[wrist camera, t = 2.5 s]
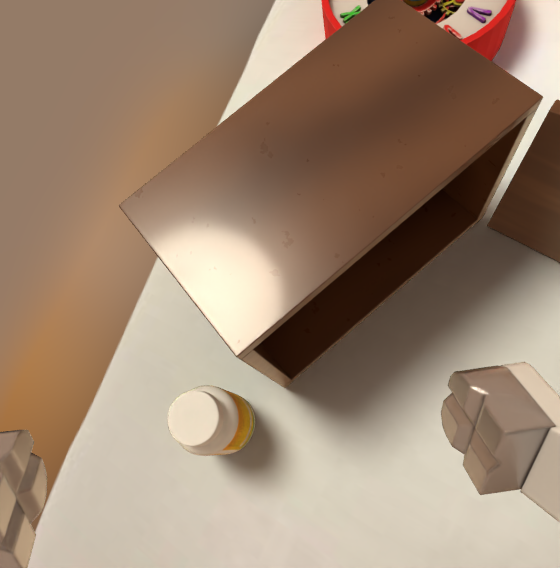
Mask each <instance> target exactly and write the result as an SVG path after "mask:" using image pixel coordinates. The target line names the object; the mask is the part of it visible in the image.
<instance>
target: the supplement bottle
mask: <svg viewBox="0 0 560 568" xmlns="http://www.w3.org/2000/svg"><path fill="white" fill-rule="evenodd" d="M168 428H169V431H170V433H171V435H172V436H173V438H174V439H175V440H176V441H178V442H179V444H180V445H181V446H182V447H183V448H184V449H185V450H187V451H189V452H190V453H193V454H196V455H202V456H208V455H223V454H231V453H234V452H237V451H239V450H240V449H242V448H243V447H244V446H245V445H246V444H247V443H248V442H249V440H250V439H251V437H252V435H253V432H254V428H255V416H254V412H253V409H252V407H251V406H250V404H249V403H248V402H247V401H246V400H245V399H244V398H242V397H240V396H238V395H236V394H234V393H231V392H229V391H226V390H224V389H221V388H219V387H215V386H200V387H196V388H194V389H192V390H190V391H187V392H185V393H183V394H181V395H180V396H179V397H177V398H176V399H175V401H174V402H173V403H172V405H171V407H170V409H169V413H168Z"/></svg>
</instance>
